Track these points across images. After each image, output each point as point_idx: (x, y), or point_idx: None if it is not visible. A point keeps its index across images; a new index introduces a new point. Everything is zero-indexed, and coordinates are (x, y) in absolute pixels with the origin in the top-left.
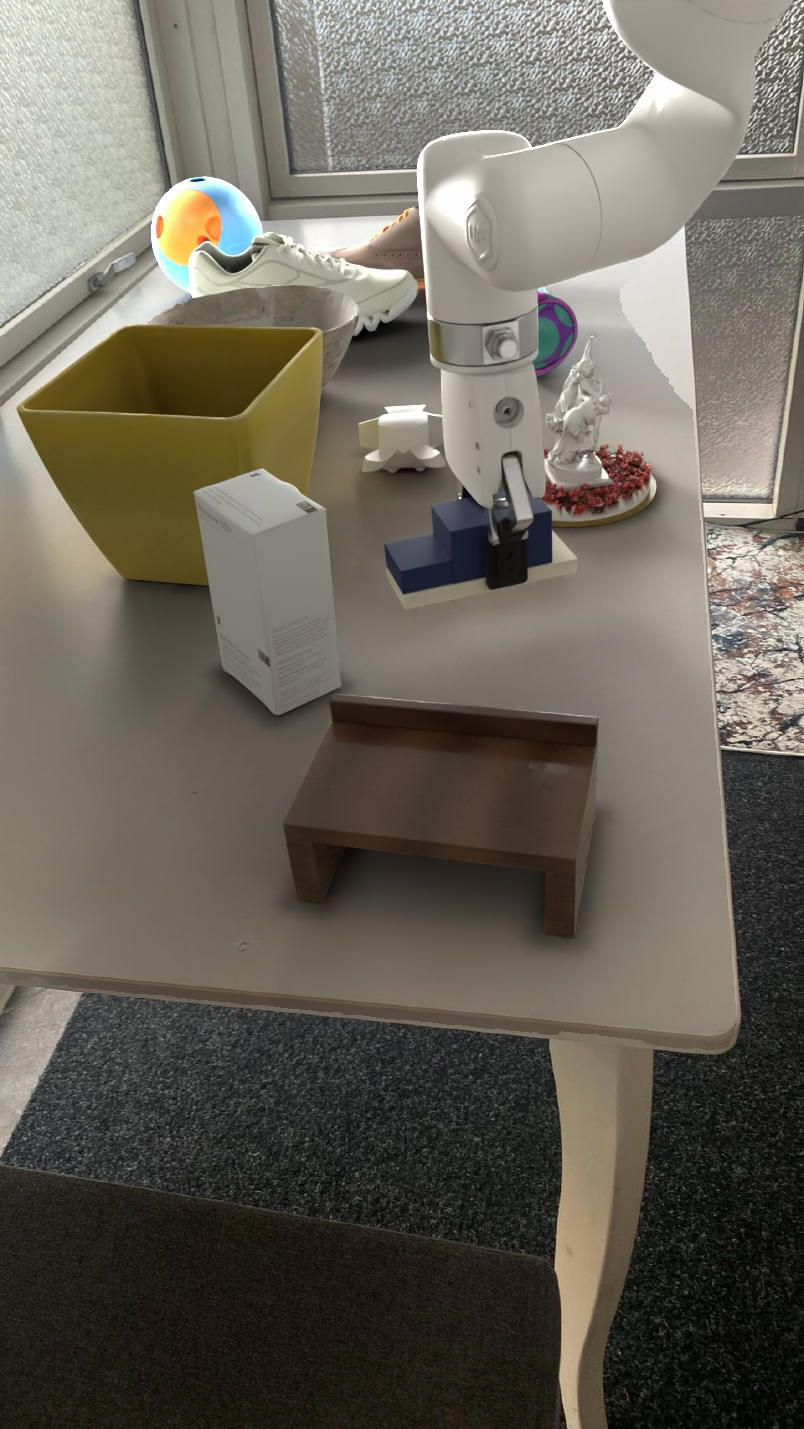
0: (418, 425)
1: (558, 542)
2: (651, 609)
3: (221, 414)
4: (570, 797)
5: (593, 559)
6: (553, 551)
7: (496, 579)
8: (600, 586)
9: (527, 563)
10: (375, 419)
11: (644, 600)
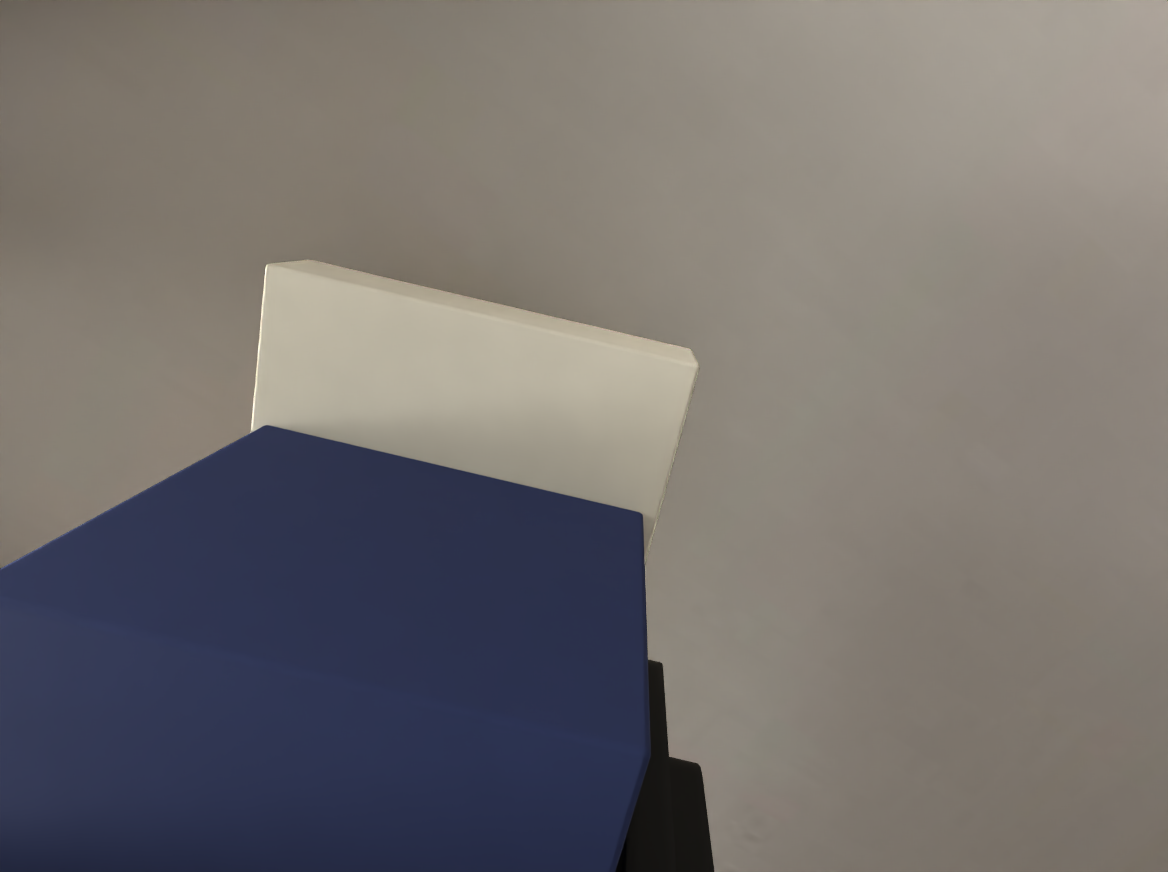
0: None
1: (449, 338)
2: (987, 80)
3: None
4: None
5: (404, 13)
6: (531, 430)
7: None
8: (652, 159)
9: (664, 723)
10: None
11: (899, 53)
